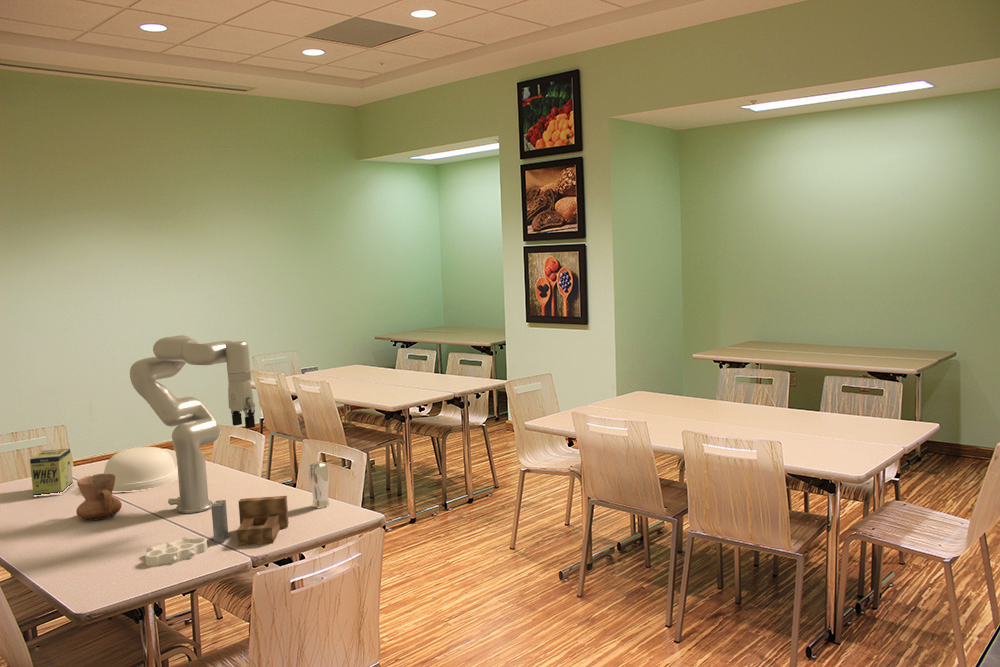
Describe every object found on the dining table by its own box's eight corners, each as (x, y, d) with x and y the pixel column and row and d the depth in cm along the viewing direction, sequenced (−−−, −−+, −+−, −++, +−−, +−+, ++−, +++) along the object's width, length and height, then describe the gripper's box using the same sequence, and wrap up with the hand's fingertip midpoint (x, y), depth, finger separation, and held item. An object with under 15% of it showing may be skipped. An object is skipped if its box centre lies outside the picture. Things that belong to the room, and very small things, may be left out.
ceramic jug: (70, 516, 282) (66, 478, 280) (112, 506, 292) (109, 468, 290) (87, 528, 269) (83, 488, 267) (131, 516, 279) (127, 478, 278)
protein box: (33, 498, 308) (29, 459, 306) (45, 487, 323) (42, 450, 321) (62, 495, 310) (58, 456, 309) (73, 484, 325) (70, 448, 324)
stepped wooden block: (230, 546, 244) (228, 515, 244) (242, 528, 261) (240, 498, 260) (280, 542, 246) (278, 511, 245) (288, 524, 263) (286, 495, 262)
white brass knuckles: (194, 542, 250) (214, 553, 240) (135, 559, 238) (154, 571, 227) (193, 532, 250) (213, 543, 240) (135, 548, 238) (153, 560, 227)
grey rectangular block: (214, 543, 248) (211, 506, 247) (218, 536, 254) (216, 500, 253) (224, 542, 248) (221, 505, 247) (228, 536, 254) (225, 500, 253)
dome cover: (167, 468, 346) (164, 437, 345) (193, 480, 324) (191, 447, 323) (88, 484, 325) (85, 451, 324) (110, 499, 303) (107, 463, 302)
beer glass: (334, 503, 285) (332, 462, 283) (324, 509, 278) (321, 467, 277) (317, 502, 287) (315, 461, 286) (307, 508, 280) (304, 466, 279)
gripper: (218, 377, 274) (222, 425, 275) (240, 380, 261) (245, 431, 263) (238, 374, 279) (242, 422, 280) (261, 377, 266) (265, 427, 268)
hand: (243, 426), depth 272 cm, fingers open, 9 cm apart
